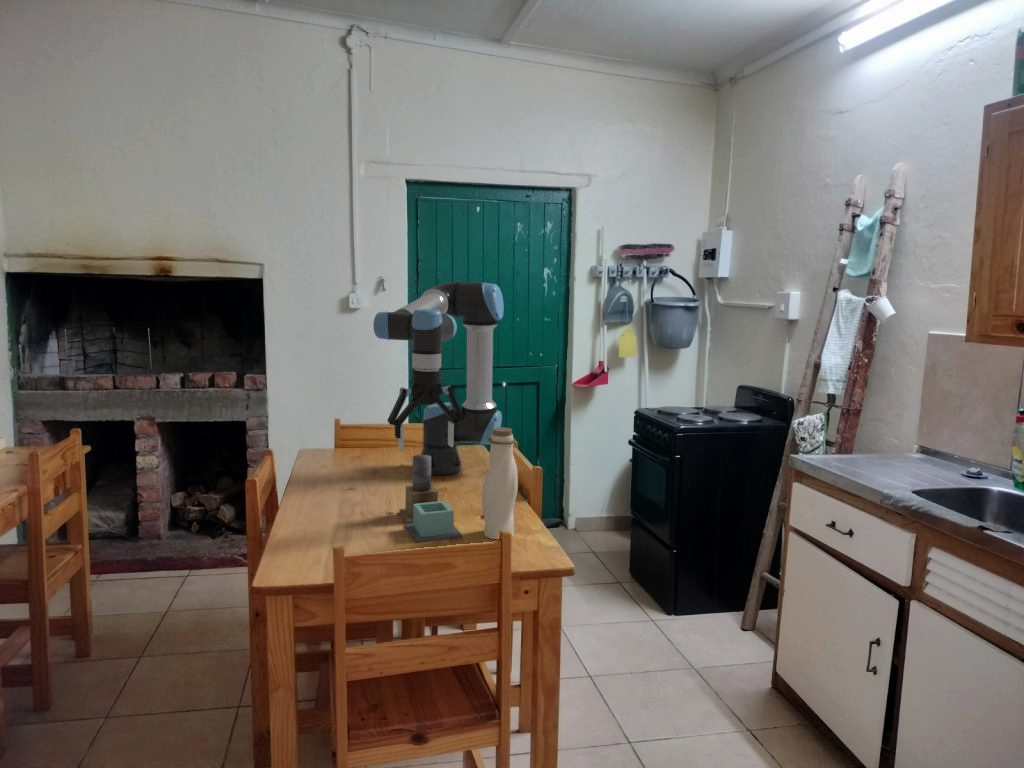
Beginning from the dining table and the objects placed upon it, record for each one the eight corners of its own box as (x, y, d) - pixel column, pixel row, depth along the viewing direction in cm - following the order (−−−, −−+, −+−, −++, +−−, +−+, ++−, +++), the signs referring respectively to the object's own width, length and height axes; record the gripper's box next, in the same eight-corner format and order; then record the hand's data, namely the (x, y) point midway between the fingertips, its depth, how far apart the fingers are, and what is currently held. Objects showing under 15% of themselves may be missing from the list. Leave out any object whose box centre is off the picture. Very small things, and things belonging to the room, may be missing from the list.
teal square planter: (444, 522, 183) (444, 500, 182) (453, 533, 175) (453, 511, 174) (413, 525, 179) (413, 503, 178) (421, 537, 172) (421, 514, 171)
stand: (433, 509, 195) (434, 451, 192) (443, 520, 185) (444, 460, 183) (399, 512, 191) (399, 453, 188) (407, 524, 182) (408, 463, 179)
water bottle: (480, 526, 182) (483, 424, 178) (513, 526, 183) (517, 424, 179) (481, 540, 172) (485, 432, 168) (517, 540, 173) (521, 433, 169)
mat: (448, 521, 185) (448, 519, 185) (461, 537, 174) (461, 535, 174) (404, 526, 180) (404, 524, 180) (416, 542, 169) (416, 540, 169)
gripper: (467, 365, 185) (465, 440, 189) (375, 368, 175) (376, 447, 179) (476, 369, 178) (475, 447, 182) (382, 373, 168) (382, 455, 172)
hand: (426, 447), depth 180 cm, fingers open, 13 cm apart
